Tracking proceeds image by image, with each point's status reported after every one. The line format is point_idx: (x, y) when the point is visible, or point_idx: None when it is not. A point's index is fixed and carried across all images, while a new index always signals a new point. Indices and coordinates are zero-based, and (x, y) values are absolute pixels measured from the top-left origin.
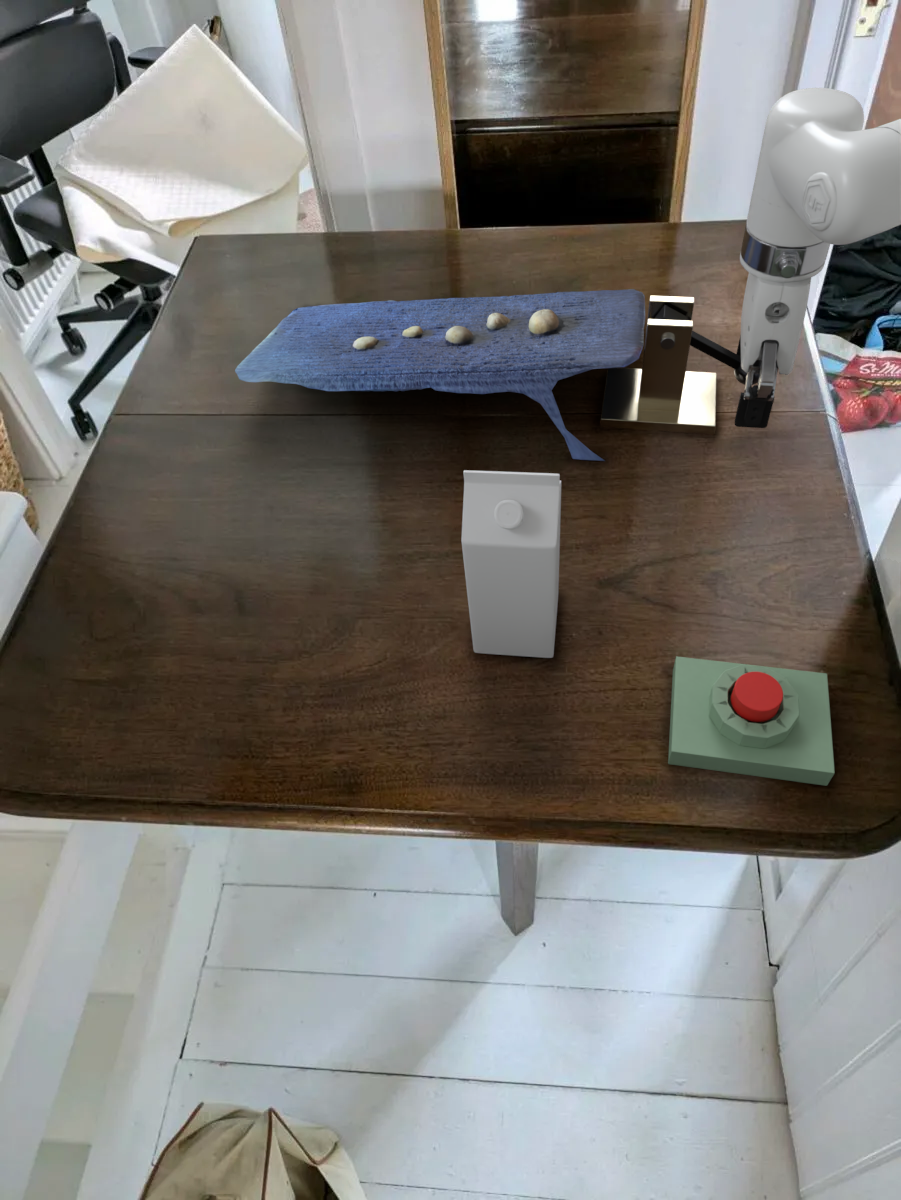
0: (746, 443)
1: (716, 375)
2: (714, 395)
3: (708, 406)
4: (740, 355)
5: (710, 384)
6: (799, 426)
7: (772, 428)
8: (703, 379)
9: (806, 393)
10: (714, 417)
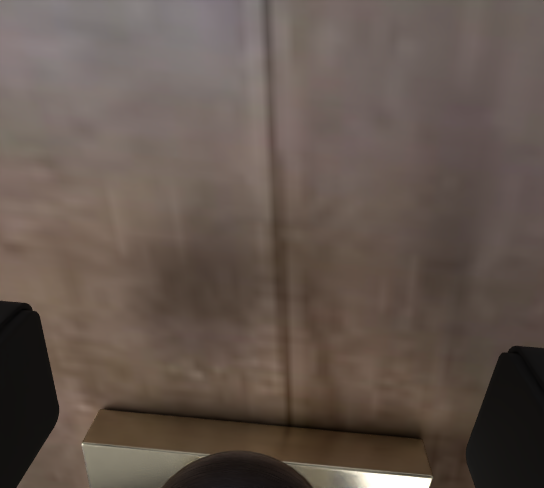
0: (491, 341)
1: (97, 442)
2: None
3: None
4: (11, 479)
5: (165, 469)
6: (396, 98)
7: (401, 232)
8: (137, 485)
9: (102, 22)
10: (379, 476)
